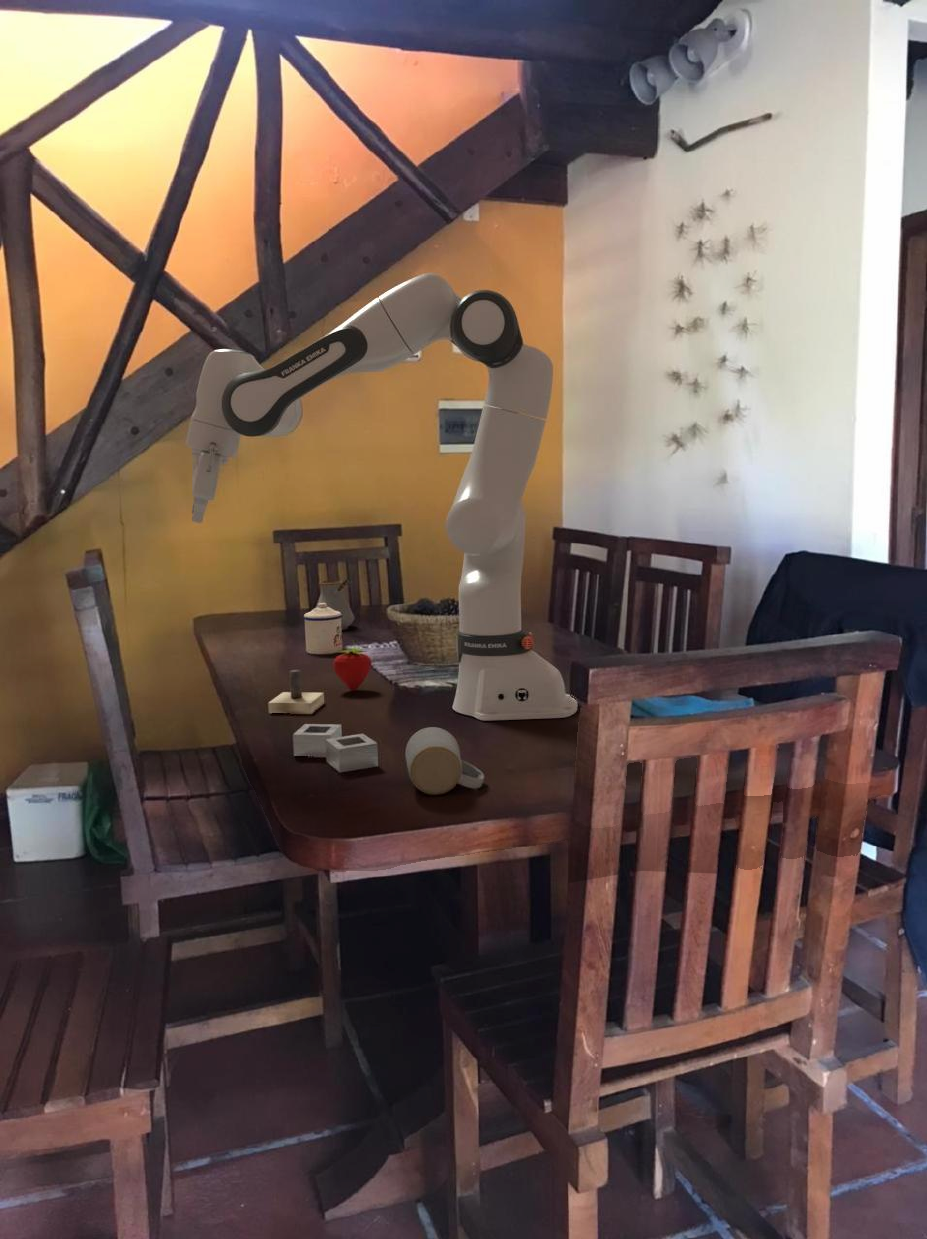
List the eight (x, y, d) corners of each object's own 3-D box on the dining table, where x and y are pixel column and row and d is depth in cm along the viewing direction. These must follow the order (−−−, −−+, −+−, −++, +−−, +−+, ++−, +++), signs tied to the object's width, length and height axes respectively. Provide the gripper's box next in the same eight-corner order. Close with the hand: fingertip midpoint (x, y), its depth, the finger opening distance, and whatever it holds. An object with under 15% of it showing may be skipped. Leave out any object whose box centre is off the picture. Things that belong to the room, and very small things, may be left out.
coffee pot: (308, 627, 268) (305, 573, 265) (348, 623, 272) (345, 570, 269) (327, 639, 248) (324, 581, 246) (370, 635, 252) (368, 578, 250)
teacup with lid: (342, 654, 228) (340, 605, 227) (303, 655, 228) (301, 606, 226) (345, 644, 240) (342, 598, 238) (308, 646, 240) (305, 599, 238)
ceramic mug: (409, 799, 129) (408, 743, 128) (405, 779, 137) (404, 727, 136) (488, 796, 130) (488, 740, 129) (480, 776, 138) (479, 724, 137)
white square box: (363, 755, 149) (362, 733, 148) (378, 766, 143) (377, 743, 143) (326, 761, 146) (325, 739, 145) (339, 772, 141) (338, 749, 140)
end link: (342, 745, 154) (341, 724, 153) (331, 757, 148) (330, 735, 148) (306, 745, 155) (304, 724, 154) (294, 756, 149) (292, 734, 149)
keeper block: (324, 703, 182) (322, 666, 181) (311, 714, 174) (309, 676, 173) (283, 702, 183) (281, 666, 182) (268, 713, 175) (266, 675, 174)
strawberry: (333, 688, 194) (331, 639, 192) (371, 686, 195) (369, 637, 193) (334, 695, 188) (332, 644, 186) (373, 692, 189) (371, 642, 187)
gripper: (233, 450, 161) (215, 530, 163) (229, 442, 180) (213, 515, 182) (194, 440, 159) (177, 522, 161) (194, 434, 178) (179, 507, 180)
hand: (196, 518), depth 172 cm, fingers open, 8 cm apart
